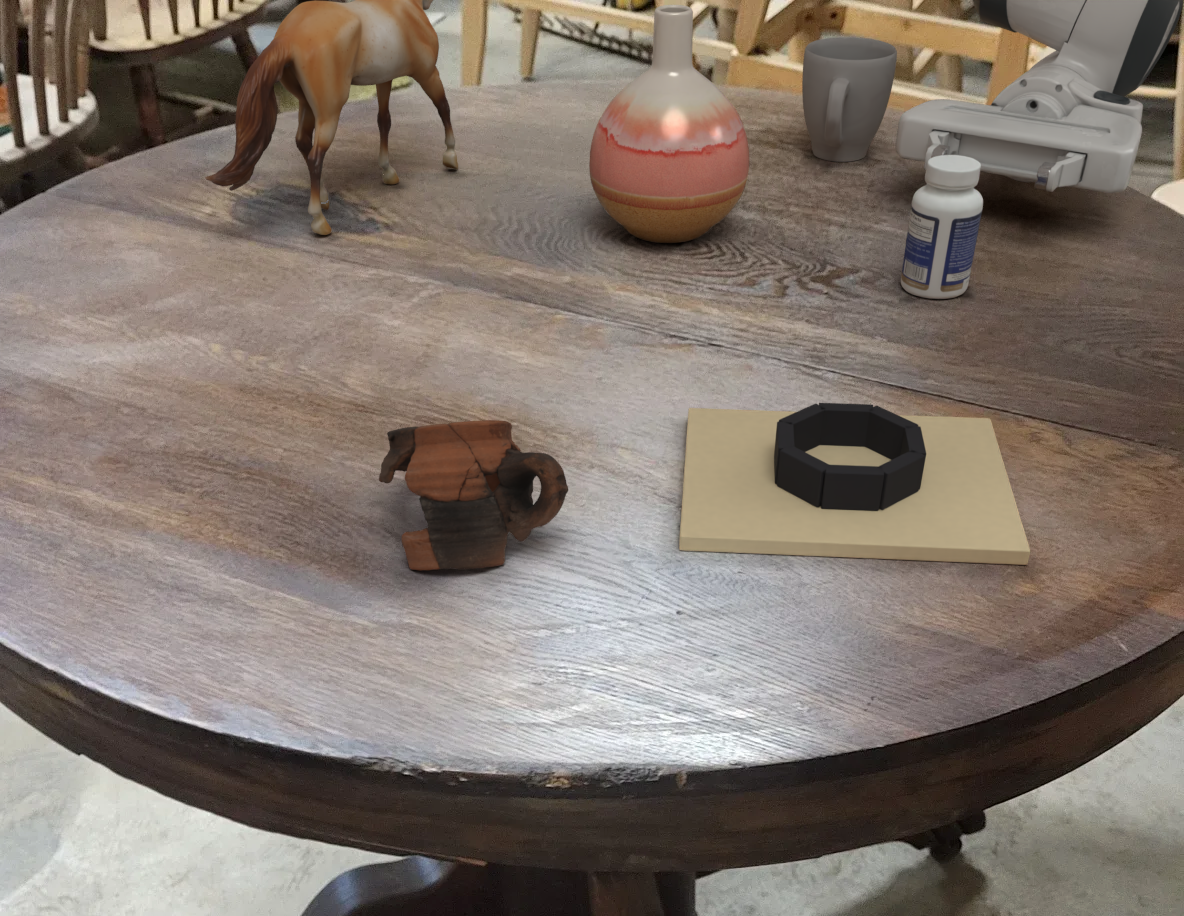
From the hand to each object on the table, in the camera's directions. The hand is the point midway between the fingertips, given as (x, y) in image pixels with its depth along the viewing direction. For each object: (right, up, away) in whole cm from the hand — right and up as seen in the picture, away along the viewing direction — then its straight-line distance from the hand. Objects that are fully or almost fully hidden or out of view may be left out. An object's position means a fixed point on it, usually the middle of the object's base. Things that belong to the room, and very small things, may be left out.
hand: (987, 171), depth 107 cm
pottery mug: (-40, -34, -30) cm, 60 cm away
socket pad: (-17, -31, -26) cm, 44 cm away
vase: (-26, -2, +8) cm, 27 cm away
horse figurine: (-56, +4, +15) cm, 58 cm away
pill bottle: (-5, -11, -2) cm, 12 cm away
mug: (-8, +11, +22) cm, 26 cm away
